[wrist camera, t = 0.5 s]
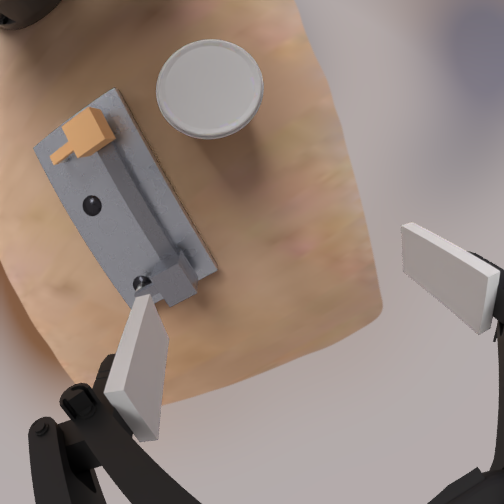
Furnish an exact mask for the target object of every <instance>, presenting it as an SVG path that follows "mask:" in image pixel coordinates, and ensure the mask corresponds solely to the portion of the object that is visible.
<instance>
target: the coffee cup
mask: <svg viewBox="0 0 504 504" xmlns="http://www.w3.org/2000/svg"><path fill="white" fill-rule="evenodd" d="M263 90H264V84H263V77H262V74H261V71H260V68H259V67H258V65H257V63H256V61H255V60H254V59H253V58H252V56H251V55H250V54H249V53H248V52H246V51H245V50H244V49H242V48H241V47H239V46H237V45H235V44H233V43H231V42H227V41H223V40H217V39H206V40H200V41H196V42H192V43H190V44H187V45H185V46H183V47H182V48H180V49H179V50H177V51H176V52H175V53H174V54H172V55H171V56H170V58H169V59H168V60H167V61H166V62H165V64H164V65H163V67H162V69H161V71H160V73H159V76H158V79H157V85H156V97H157V102H158V106H159V108H160V111H161V113H162V115H163V116H164V118H165V119H166V120H167V121H168V123H169V124H170V125H171V126H173V127H174V128H175V129H176V130H178V131H179V132H181V133H183V134H185V135H188V136H190V137H194V138H198V139H218V138H223V137H226V136H229V135H231V134H234V133H235V132H237V131H239V130H240V129H242V128H243V127H244V126H246V125H247V124H248V123H249V122H250V121H251V120H252V118H253V117H254V116H255V114H256V113H257V111H258V109H259V107H260V105H261V101H262V98H263Z"/></svg>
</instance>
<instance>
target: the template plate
mask: <svg viewBox="0 0 504 504" xmlns="http://www.w3.org/2000/svg"><path fill="white" fill-rule="evenodd" d="M87 107H92V108H96V109H100V110H101V111H102V113H103V115H104V117H105V119H106V121H107V123H108V125H109V126H110V128H111V130H112V132H113V134H114V136H115V138H116V139H115V140H113V141H112V142H110V143H109V144H107V145H106V146H104V147H103V148H101V149H100V150H98V151H97V152H95V153H94V154H93V155H91V156H87V157H82V158H77V156H76V154H75V153H74V152H73V153H72V154H70V155H69V156H68V160H67V161H66V162H64V163H60V164H57V165H53V163H52V161H51V159H50V157H49V156H50V155H52V154H53V153H54V152H55V151H57V150H58V149H59V148H60V147H62V146H63V145H64V144H66V143H67V142H68V139H67V137H66V135H65V133H64V131H63V129H62V126H63V125H64V124H66V123H67V122H68V121H69V120H71V119H72V118H73V117H75V116H76V115H78V114H79V113H80V112H82V111H83V110H84V109H86V108H87ZM33 149H34V151H35V153H36V155H37V157H38V159H39V161H40V163H41V165H42V167H43V169H44V171H45V173H46V175H47V177H48V179H49V180H50V182H51V184H52V186H53V188H54V190H55V192H56V193H57V195H58V197H59V199H60V200H61V202H62V204H63V206H64V208H65V209H66V211H67V213H68V214H69V216H70V218H71V219H72V221H73V223H74V225H75V226H76V228H77V229H78V231H79V233H80V234H81V236H82V238H83V239H84V241H85V242H86V244H87V246H88V247H89V249H90V250H91V252H92V253H93V255H94V256H95V258H96V260H97V261H98V263H99V264H100V266H101V267H102V269H103V270H104V272H105V273H106V274H107V276H108V277H109V279H110V280H111V282H112V283H113V285H114V286H115V288H116V289H117V290H118V292H119V293H120V295H121V296H122V297H123V299H124V300H125V302H126V303H127V304H128V306H129V307H130V308H131V309H132V306H133V304H134V301H135V298H136V297H139V296H143V295H147V294H150V295H151V297H152V300H153V302H154V303H156V302H158V301H160V300H162V299H164V300H165V301H166V302H167V304H168V305H169V307H171V306H173V305H175V304H177V303H179V302H181V301H183V300H185V299H187V298H189V297H191V296H193V295H195V294H197V289H198V280H200V279H202V278H204V277H206V276H208V275H210V274H212V273H213V272H215V271H217V270H218V269H217V263H216V262H215V260H214V258H213V257H212V255H211V253H210V252H209V250H208V248H207V247H206V245H205V243H204V241H203V240H202V238H201V236H200V235H199V233H198V231H197V230H196V228H195V226H194V224H193V223H192V221H191V219H190V218H189V216H188V214H187V212H186V211H185V209H184V207H183V205H182V204H181V202H180V200H179V198H178V197H177V195H176V193H175V191H174V190H173V188H172V186H171V184H170V183H169V181H168V179H167V177H166V176H165V174H164V172H163V170H162V168H161V167H160V165H159V163H158V161H157V160H156V158H155V156H154V154H153V152H152V150H151V149H150V147H149V145H148V143H147V141H146V140H145V138H144V136H143V134H142V132H141V130H140V129H139V127H138V125H137V123H136V121H135V119H134V118H133V116H132V114H131V112H130V110H129V108H128V106H127V104H126V103H125V101H124V99H123V97H122V95H121V93H120V91H119V90H118V89H116V88H115V87H114V88H113V89H111V90H109V91H108V92H106V93H105V94H103V95H102V96H100V97H99V98H97V99H96V100H95V101H93V102H92V103H90V104H89V105H87V106H86V107H85V108H83V109H82V110H80V111H79V112H78V113H76V114H75V115H74V116H72V117H71V118H70V119H68V120H67V121H66V122H64V123H63V124H62V125H60V126H59V127H58V128H57V129H55V130H54V131H53V132H52V133H50V134H49V135H48V136H47V137H46V138H44V139H43V140H42V141H41V142H40V143H38V144H37V145H36V146H35V147H34V148H33Z"/></svg>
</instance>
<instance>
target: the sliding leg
mask: <svg viewBox="0 0 504 504" xmlns="http://www.w3.org/2000/svg"><path fill="white" fill-rule="evenodd" d="M62 129H63V131H64V133H65V135H66V137H67V139H68V142H67V143H66V144H64V145H63V146H62V147H60V148H59V149H58V150H57V151H55V152H54V153H53V154H52V155H50V156H49V157H50V159H51V161H52V163H53V165H57V164H60V163H64V162H66V161H67V160H68V156H69V155H70V154H72V153H73V152H74V153H75V154H76V156H77V158H82V157H87V156H91V155H93V154H94V153H95V152H97V151H98V150H100V149H101V148H103V147H104V146H106V145H107V144H109V143H110V142H112V141H113V140H115V139H116V138H115V136H114V134H113V132H112V130H111V128H110V126H109V125H108V123H107V121H106V119H105V117H104V115H103V113H102V111H101V110H100V109H96V108H92V107H87V108H86V109H84V110H83V111H82V112H80V113H79V114H78V115H76V116H75V117H73V118H72V119H71V120H69V121H68V122H67V123H66V124H64V125H63V126H62Z"/></svg>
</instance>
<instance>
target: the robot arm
mask: <svg viewBox="0 0 504 504" xmlns="http://www.w3.org/2000/svg"><path fill="white" fill-rule="evenodd" d="M60 1H61V0H0V27H2V28H4V29H8V30H16V29H21V28H24V27H27V26H29V25H31V24H33V23H35V22H37V21H38V20H40V19H41V18H43V17H44V16H45V15H47V14H48V13H49V12H50V11H51V10H53V9H54V8H55V7H56V6H57V5H58V4H59V3H60ZM401 233H402V255H403V272H404V273H405V274H406V275H408V276H409V277H410V278H411V279H413V280H414V281H415V282H416V283H418V284H419V285H420V286H421V287H423V288H424V289H425V290H426V291H427V292H429V293H430V294H431V295H432V296H433V297H435V298H436V299H437V300H438V301H440V302H441V303H442V304H443V305H444V306H445V307H447V308H448V309H449V310H450V311H451V312H453V313H454V314H455V315H456V316H457V317H458V318H460V319H461V320H462V321H463V322H464V323H465V324H466V325H468V326H469V327H470V328H471V329H472V330H473V331H475V332H476V333H477V334H478V335H480V334H481V333H483V332H485V331H486V330H488V329H490V327H491V323H492V318H493V317H495V318H496V319H497V320H498V323H497V328H496V332H495V336H494V340H493V342H495V341H496V338H497V339H498V358H499V410H498V426H497V439H496V448H495V455H494V460H493V463H492V466H491V468H490V471H487V472H484V473H481V471H480V470H479V468H478V467H477V468H475V469H474V470H472V471H471V472H469V473H468V474H466V475H464V476H463V477H461V478H460V479H458V480H456V481H455V482H453V483H451V484H450V485H448V486H447V487H446V488H445V489H444V490H443V491H441V492H440V493H439V494H438V495H437V496H436V497H435V498H433V499H432V500H431V501H430V502H429V503H428V504H504V270H503V269H502V268H500V267H498V266H497V265H495V264H493V263H492V262H489V261H488V260H486V259H483V257H481V256H479V255H478V254H476V253H472V252H469V251H465V250H464V249H462V248H460V247H458V246H456V245H455V244H453V243H451V242H449V241H447V240H445V239H444V238H442V237H440V236H438V235H436V234H434V233H432V232H431V231H429V230H427V229H425V228H423V227H421V226H419V225H417V224H415V223H413V222H411V223H408V224H404V225H401ZM168 344H169V337H168V335H167V333H166V330H165V328H164V326H163V324H162V321H161V319H160V317H159V314H158V312H157V309H156V307H155V305H154V302H153V300H152V297H151V295H150V294H147V295H143V296H139V297H136V298H135V301H134V304H133V306H132V309H131V312H130V315H129V317H128V320H127V323H126V326H125V329H124V331H123V334H122V337H121V340H120V343H119V346H118V349H117V352H116V354H110V355H108V356H107V357H106V358H105V359H104V361H103V362H102V363H101V365H100V368H99V371H98V372H99V373H98V374H97V377H96V380H95V382H94V385H93V388H91V387H90V386H89V385H88V384H86V383H79V384H75V385H73V386H71V387H69V388H68V389H67V390H66V391H64V393H63V394H62V396H61V398H60V401H59V402H60V406H61V407H62V409H63V410H64V411H65V412H66V414H67V415H68V416H69V418H70V419H71V420H69V421H66V422H64V423H60V424H57V423H56V422H55V421H54V420H53V419H52V418H51V417H43V418H40V419H38V420H36V421H35V422H34V423H33V424H32V425H31V427H30V429H29V433H28V440H29V454H30V465H31V474H32V482H33V488H34V496H35V502H36V504H106V501H105V498H104V496H103V493H102V491H101V487H100V485H99V482H98V479H97V476H96V473H95V470H94V468H96V467H99V466H103V468H104V469H105V470H106V472H107V473H108V474H109V475H110V477H111V478H112V480H113V481H114V482H115V484H116V485H117V486H118V487H119V489H120V490H121V491H122V492H123V494H124V495H125V496H126V497H127V498H128V500H129V501H130V502H131V503H132V504H201V503H200V502H199V501H198V500H196V499H195V498H194V497H193V496H192V495H191V494H189V493H188V492H187V491H186V490H185V489H184V488H182V487H181V486H180V485H179V484H178V483H177V482H176V481H175V480H174V479H173V478H171V477H170V476H169V475H168V474H167V473H166V472H165V471H164V470H163V469H162V468H161V467H160V466H159V465H158V464H157V463H156V462H155V461H154V460H153V459H152V458H151V457H150V456H149V455H148V454H147V453H146V452H145V451H144V450H143V449H142V448H141V447H140V446H139V445H138V444H137V443H136V442H135V441H134V440H133V439H132V435H133V434H134V435H135V437H136V438H137V439H138V440H139V442H145V441H154V440H158V437H159V424H160V414H161V404H162V394H163V385H164V376H165V368H166V360H167V352H168Z"/></svg>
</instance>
